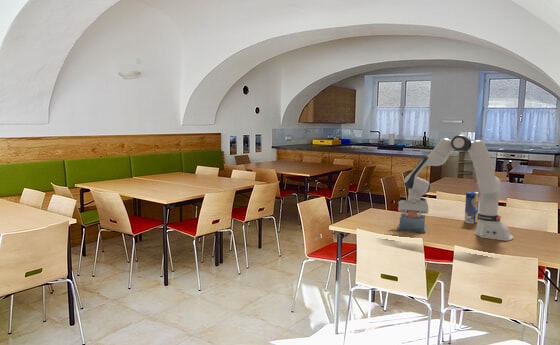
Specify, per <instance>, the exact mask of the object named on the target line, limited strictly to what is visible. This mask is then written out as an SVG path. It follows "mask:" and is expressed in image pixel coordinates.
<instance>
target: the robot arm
mask: <svg viewBox="0 0 560 345" xmlns="http://www.w3.org/2000/svg"><path fill="white" fill-rule="evenodd" d="M453 151H458V152H467V153H468V154H469V156H470V159H471V161H472V164H473V168H474V171H475V175H476V176H475V177H476V180H477V186H478V190H479V192H481V194H480V197H479V204H478V218H477V225H476V227H475V228H476V229H475V231H474V235H475V236H478V237H480V238H482V239H491V240H496V241H497V240H498V241H512V240H513V239H514V235H512V234H510V229H509V227H508V226H507V225H506V224H504V222H502V221H501V219H502V216H501V215H498V211H499V200H500V195H501V187H502V182H501V179H500V178H499V177H497V176H496V175H495V170H494V164H493V162H492V159H491V155H490V153H489V150H488V148H487V146H486V144H485V143H484V141H482V140H481V139H476V140H471V138H470V137H469V136H467V135H465V134H457V135H455V136H453V138H452V139H450V138H447V137H445V138H441V139H440V140H439V141H438V142H437V144H436V145H435V146H434V148H433V150H432V151H431V152H429V154H427V155H424V156H423V157H422V158H421V159H420V160H419V161H418V162H417V164H416V165H415V166H414V167H413V168H412V170H411V171H410V172H409V173H408V174H407V175H406V176H405V177H404V179H403V184H404V187H405V188H406V189H408V195H407V199H406V200H404V199H401V200H399V201H398V203H397V204H398V207H397V209H398V212H399V213H400V212H401V213H405V214H406V217H408V211H415V212H418V213H417V214H419V215H417V218H419V216H420V215H428V214H429V204H428V200H427V198H424V197H422V196H425V195H426V194H428V193H429V192H430V190H431V183H430V182H429V181H428V180H426V179H424V178H421V177H419V176H418V175H419V174H420V173H421V171H422V170H423V169H424V168H426V167H429V166H432V167H439V166H443V164H445V163H446V162H447V160H448V159H449V157H450V155H451V153H452V152H453Z"/></svg>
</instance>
